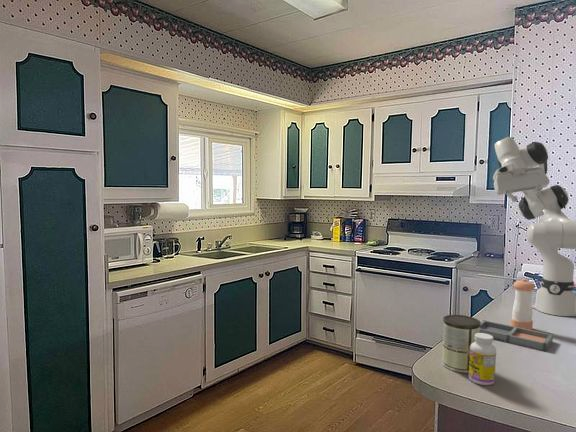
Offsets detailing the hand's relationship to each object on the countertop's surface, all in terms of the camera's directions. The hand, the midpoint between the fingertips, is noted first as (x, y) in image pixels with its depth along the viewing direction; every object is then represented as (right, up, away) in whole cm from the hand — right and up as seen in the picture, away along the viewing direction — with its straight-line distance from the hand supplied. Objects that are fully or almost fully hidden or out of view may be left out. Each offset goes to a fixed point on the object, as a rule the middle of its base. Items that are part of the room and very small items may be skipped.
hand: (527, 199), depth 171 cm
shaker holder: (-16, -50, -18) cm, 56 cm away
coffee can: (-44, -52, -42) cm, 80 cm away
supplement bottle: (-42, -53, -52) cm, 85 cm away
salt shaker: (-7, -50, -7) cm, 51 cm away
